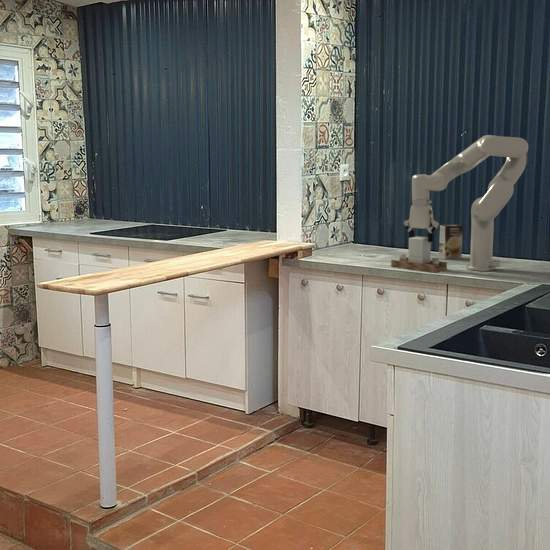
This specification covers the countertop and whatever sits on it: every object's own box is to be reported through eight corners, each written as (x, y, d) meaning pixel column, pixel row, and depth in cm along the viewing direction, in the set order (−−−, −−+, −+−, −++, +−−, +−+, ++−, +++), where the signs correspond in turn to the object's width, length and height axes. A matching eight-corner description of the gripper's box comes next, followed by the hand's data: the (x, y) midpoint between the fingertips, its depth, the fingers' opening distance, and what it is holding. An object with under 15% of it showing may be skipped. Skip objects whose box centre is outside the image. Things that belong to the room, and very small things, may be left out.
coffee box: (444, 259, 374) (445, 226, 371) (438, 257, 380) (439, 224, 377) (462, 258, 377) (463, 225, 374) (455, 256, 383) (456, 223, 380)
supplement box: (430, 265, 352) (431, 237, 350) (421, 267, 347) (422, 239, 345) (416, 263, 357) (417, 235, 355) (407, 265, 352) (408, 237, 349)
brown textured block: (446, 269, 349) (447, 257, 348) (433, 272, 341) (434, 260, 340) (404, 263, 364) (404, 252, 363) (391, 267, 356) (391, 255, 355)
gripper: (442, 202, 344) (442, 241, 347) (408, 201, 355) (409, 238, 359) (433, 204, 339) (433, 243, 342) (399, 203, 350) (400, 241, 353)
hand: (421, 241), depth 350 cm, fingers open, 9 cm apart
